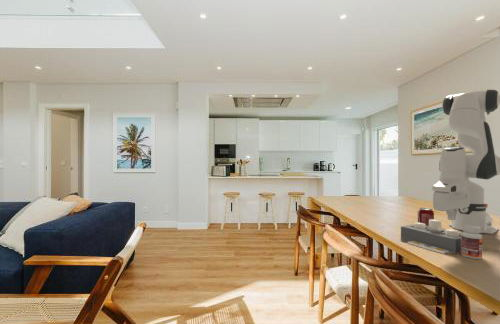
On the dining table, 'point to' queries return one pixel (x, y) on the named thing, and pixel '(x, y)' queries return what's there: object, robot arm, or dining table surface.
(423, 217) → the soda can
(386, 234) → the dining table surface
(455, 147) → the robot arm
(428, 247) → the card
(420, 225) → the cream oval piece
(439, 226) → the cream white egg
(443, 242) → the grey egg tray
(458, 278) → the dining table surface
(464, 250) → the pill bottle
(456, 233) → the button
